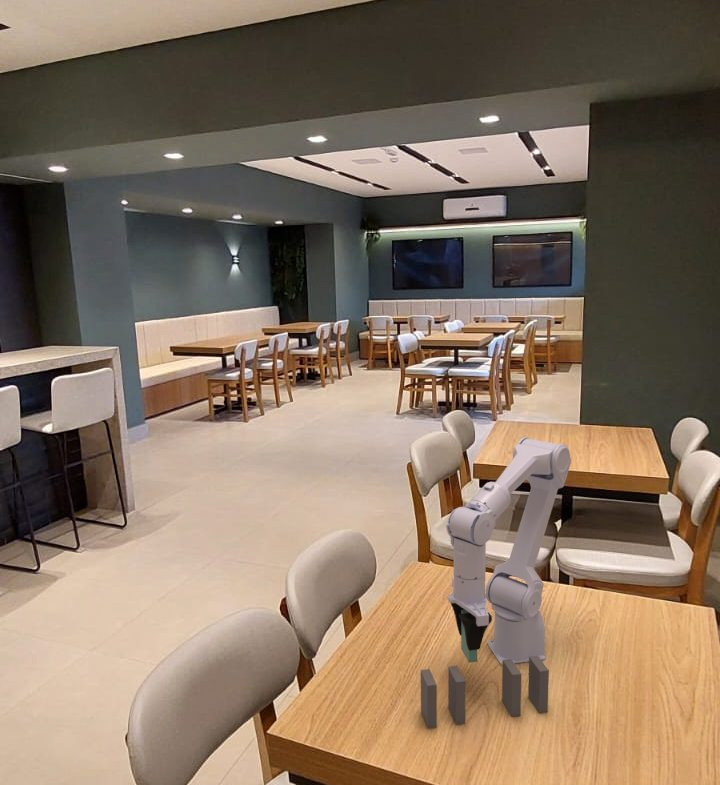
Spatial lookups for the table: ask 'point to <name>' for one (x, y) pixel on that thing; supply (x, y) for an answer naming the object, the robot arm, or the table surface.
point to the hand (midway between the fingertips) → (469, 641)
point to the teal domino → (469, 654)
